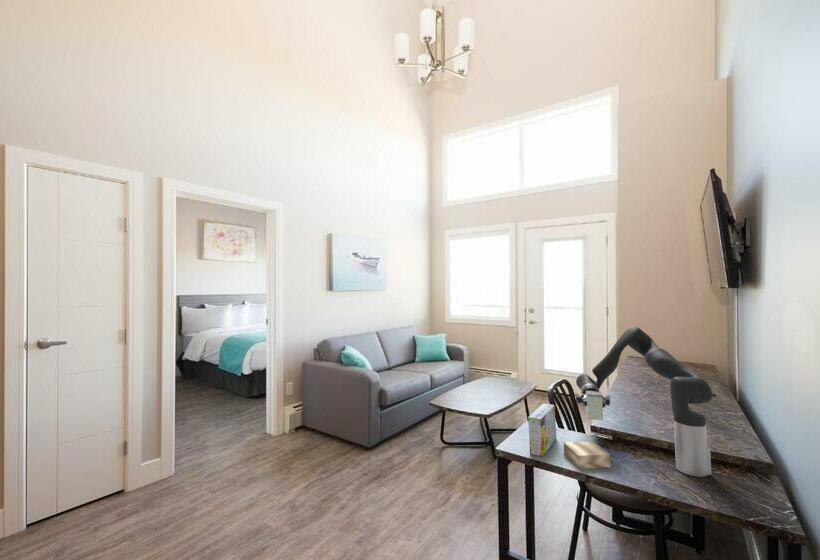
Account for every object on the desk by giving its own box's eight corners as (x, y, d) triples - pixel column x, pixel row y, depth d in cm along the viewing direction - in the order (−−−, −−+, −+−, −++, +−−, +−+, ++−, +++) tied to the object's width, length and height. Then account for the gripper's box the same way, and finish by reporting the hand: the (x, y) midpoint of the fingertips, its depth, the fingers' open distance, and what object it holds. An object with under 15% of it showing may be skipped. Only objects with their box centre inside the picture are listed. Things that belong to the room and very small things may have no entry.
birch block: (593, 453, 147) (592, 441, 147) (610, 468, 135) (610, 454, 135) (563, 454, 147) (563, 442, 147) (578, 469, 135) (578, 455, 135)
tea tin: (586, 414, 155) (585, 390, 155) (601, 416, 153) (600, 391, 153) (587, 419, 150) (586, 394, 150) (603, 420, 148) (602, 395, 148)
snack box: (543, 436, 164) (542, 402, 165) (557, 439, 161) (555, 404, 162) (528, 454, 147) (527, 416, 148) (542, 457, 144) (541, 418, 144)
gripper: (573, 383, 167) (575, 393, 152) (608, 386, 162) (614, 396, 146) (573, 400, 167) (575, 412, 151) (609, 403, 162) (615, 415, 146)
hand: (594, 404), depth 149 cm, fingers closed on tea tin, 5 cm apart
